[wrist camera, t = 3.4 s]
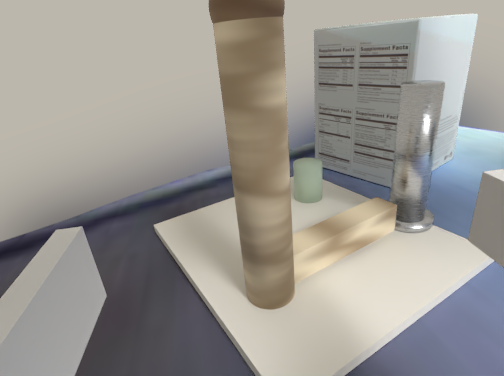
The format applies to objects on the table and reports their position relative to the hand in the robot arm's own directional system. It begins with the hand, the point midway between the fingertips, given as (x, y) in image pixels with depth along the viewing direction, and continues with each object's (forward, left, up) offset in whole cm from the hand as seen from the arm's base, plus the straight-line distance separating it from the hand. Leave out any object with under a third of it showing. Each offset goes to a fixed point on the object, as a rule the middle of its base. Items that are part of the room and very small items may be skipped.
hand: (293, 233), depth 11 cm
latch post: (-15, -17, -10) cm, 25 cm away
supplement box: (-31, -20, -11) cm, 38 cm away
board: (-10, -12, -11) cm, 19 cm away
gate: (-9, -8, -10) cm, 16 cm away
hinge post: (-19, -8, -10) cm, 23 cm away
